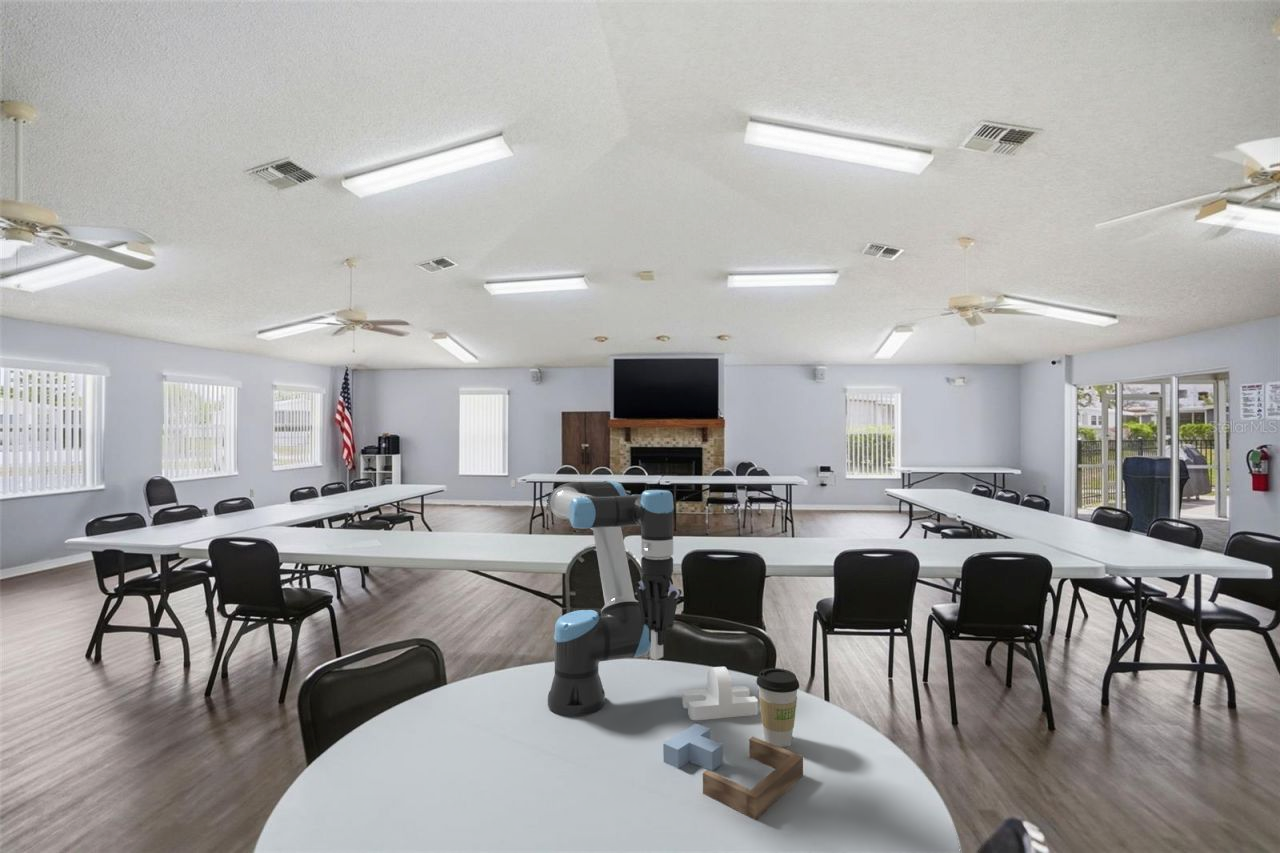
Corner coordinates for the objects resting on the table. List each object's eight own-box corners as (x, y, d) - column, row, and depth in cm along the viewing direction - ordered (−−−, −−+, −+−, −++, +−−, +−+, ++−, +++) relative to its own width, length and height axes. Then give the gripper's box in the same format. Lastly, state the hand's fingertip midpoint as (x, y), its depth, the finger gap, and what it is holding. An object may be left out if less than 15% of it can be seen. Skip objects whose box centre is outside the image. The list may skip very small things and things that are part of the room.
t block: (663, 762, 126) (663, 743, 126) (696, 740, 135) (696, 723, 135) (700, 779, 119) (700, 759, 119) (732, 755, 128) (732, 737, 128)
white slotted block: (681, 704, 154) (681, 663, 154) (745, 699, 157) (745, 659, 158) (691, 721, 145) (691, 678, 145) (759, 715, 148) (759, 672, 148)
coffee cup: (801, 753, 129) (800, 685, 130) (756, 748, 131) (756, 682, 132) (798, 731, 139) (797, 668, 139) (756, 727, 141) (756, 665, 141)
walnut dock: (702, 793, 115) (702, 772, 115) (752, 754, 129) (752, 736, 129) (755, 820, 107) (755, 797, 107) (803, 775, 121) (803, 756, 121)
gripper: (626, 555, 138) (625, 655, 137) (668, 562, 129) (668, 669, 128) (646, 550, 143) (646, 646, 143) (689, 557, 135) (689, 660, 134)
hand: (657, 657), depth 136 cm, fingers closed
